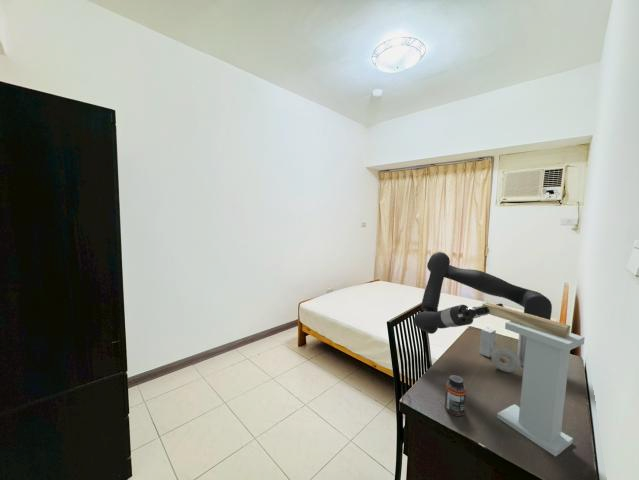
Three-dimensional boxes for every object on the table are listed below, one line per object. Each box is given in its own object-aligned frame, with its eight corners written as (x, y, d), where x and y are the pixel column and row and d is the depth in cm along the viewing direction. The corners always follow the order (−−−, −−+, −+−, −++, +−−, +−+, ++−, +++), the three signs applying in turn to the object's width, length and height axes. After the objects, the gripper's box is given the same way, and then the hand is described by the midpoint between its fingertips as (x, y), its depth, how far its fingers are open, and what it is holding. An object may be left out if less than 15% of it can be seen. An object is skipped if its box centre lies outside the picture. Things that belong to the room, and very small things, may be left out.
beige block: (486, 310, 91) (487, 302, 90) (569, 335, 71) (570, 325, 71) (481, 311, 89) (482, 303, 89) (565, 338, 70) (566, 327, 70)
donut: (489, 368, 110) (491, 346, 110) (490, 365, 113) (492, 343, 112) (518, 377, 104) (521, 354, 103) (519, 374, 107) (521, 351, 106)
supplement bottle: (448, 401, 89) (450, 370, 88) (466, 410, 85) (469, 378, 84) (441, 409, 85) (444, 377, 84) (461, 420, 81) (463, 386, 80)
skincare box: (488, 357, 119) (491, 333, 118) (478, 353, 123) (480, 329, 122) (494, 354, 123) (496, 330, 122) (484, 350, 126) (486, 326, 125)
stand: (513, 408, 87) (522, 317, 84) (572, 443, 74) (584, 337, 71) (497, 417, 82) (505, 322, 80) (555, 456, 69) (568, 344, 66)
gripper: (440, 309, 99) (478, 299, 85) (464, 304, 105) (502, 294, 92) (448, 329, 96) (488, 322, 83) (471, 323, 102) (512, 315, 89)
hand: (495, 307), depth 87 cm, fingers open, 8 cm apart
